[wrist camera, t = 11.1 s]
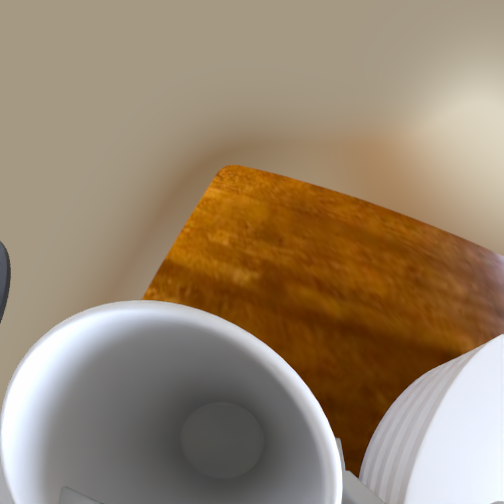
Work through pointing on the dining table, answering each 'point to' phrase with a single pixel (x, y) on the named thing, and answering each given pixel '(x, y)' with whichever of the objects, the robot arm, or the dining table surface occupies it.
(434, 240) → the dining table surface
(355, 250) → the dining table surface
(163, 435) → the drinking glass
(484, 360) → the plate stack
